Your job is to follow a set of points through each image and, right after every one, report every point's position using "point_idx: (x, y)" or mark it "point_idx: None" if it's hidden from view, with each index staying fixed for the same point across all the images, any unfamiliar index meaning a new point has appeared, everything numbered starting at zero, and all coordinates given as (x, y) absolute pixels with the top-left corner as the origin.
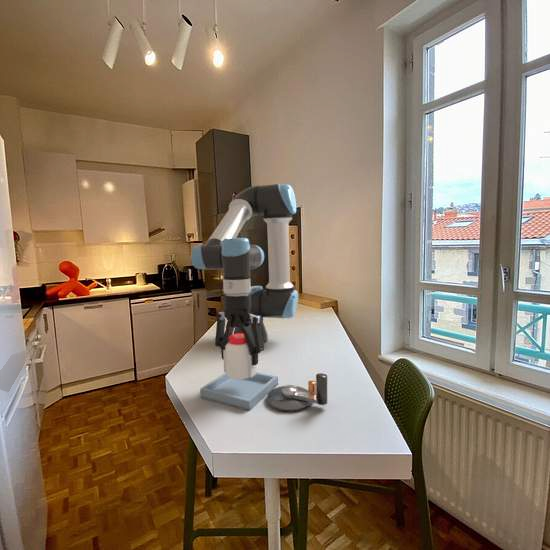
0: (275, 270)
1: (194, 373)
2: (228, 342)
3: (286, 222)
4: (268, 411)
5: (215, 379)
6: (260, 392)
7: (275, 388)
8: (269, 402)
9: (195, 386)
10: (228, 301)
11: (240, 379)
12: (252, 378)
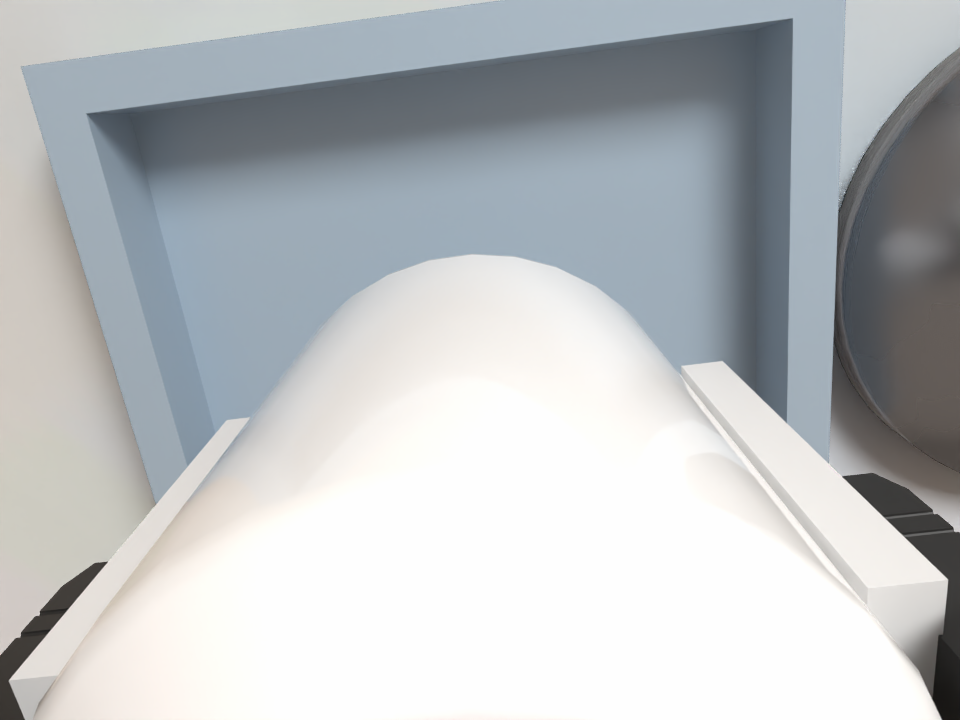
0: None
1: None
2: None
3: None
4: (939, 514)
5: (158, 488)
6: (824, 446)
7: (880, 191)
8: (932, 457)
9: (2, 527)
10: None
11: (301, 177)
12: (426, 75)
